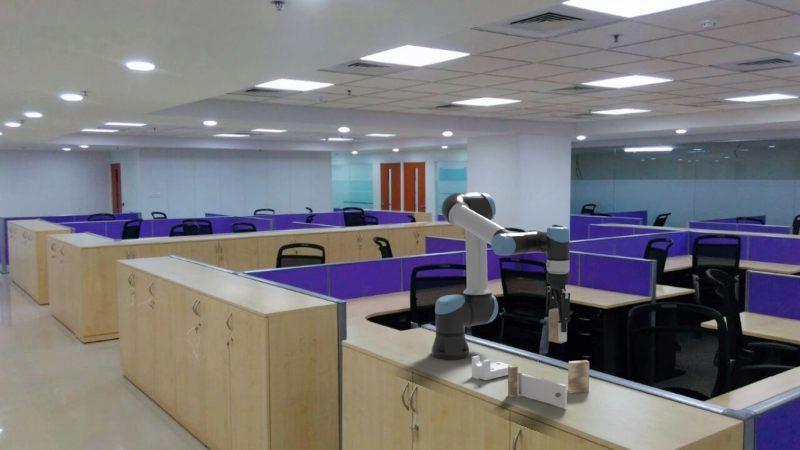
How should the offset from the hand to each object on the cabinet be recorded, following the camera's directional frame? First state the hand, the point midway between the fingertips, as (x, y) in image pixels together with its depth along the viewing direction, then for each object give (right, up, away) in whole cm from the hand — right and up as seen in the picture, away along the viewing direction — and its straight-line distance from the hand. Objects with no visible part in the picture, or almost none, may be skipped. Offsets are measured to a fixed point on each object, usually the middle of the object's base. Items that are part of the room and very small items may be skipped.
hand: (557, 338), depth 209 cm
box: (0, -1, 0) cm, 1 cm away
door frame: (-6, -16, -11) cm, 20 cm away
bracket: (-21, -15, +7) cm, 27 cm away
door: (-10, -16, -19) cm, 27 cm away
